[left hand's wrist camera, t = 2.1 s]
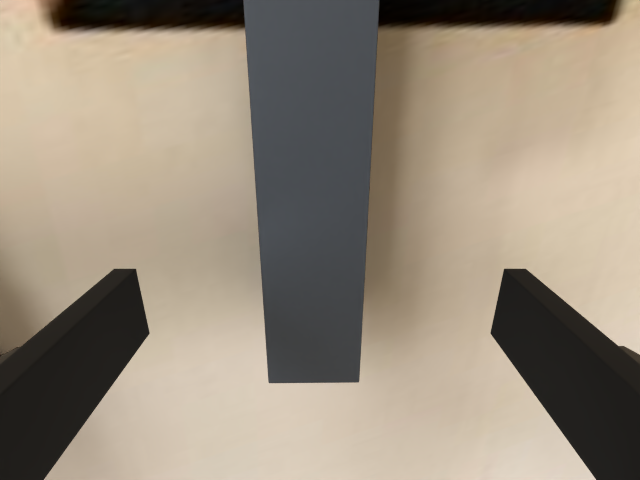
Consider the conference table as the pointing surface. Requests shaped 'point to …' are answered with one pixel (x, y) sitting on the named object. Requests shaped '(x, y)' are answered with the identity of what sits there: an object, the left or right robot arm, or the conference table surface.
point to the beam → (312, 178)
